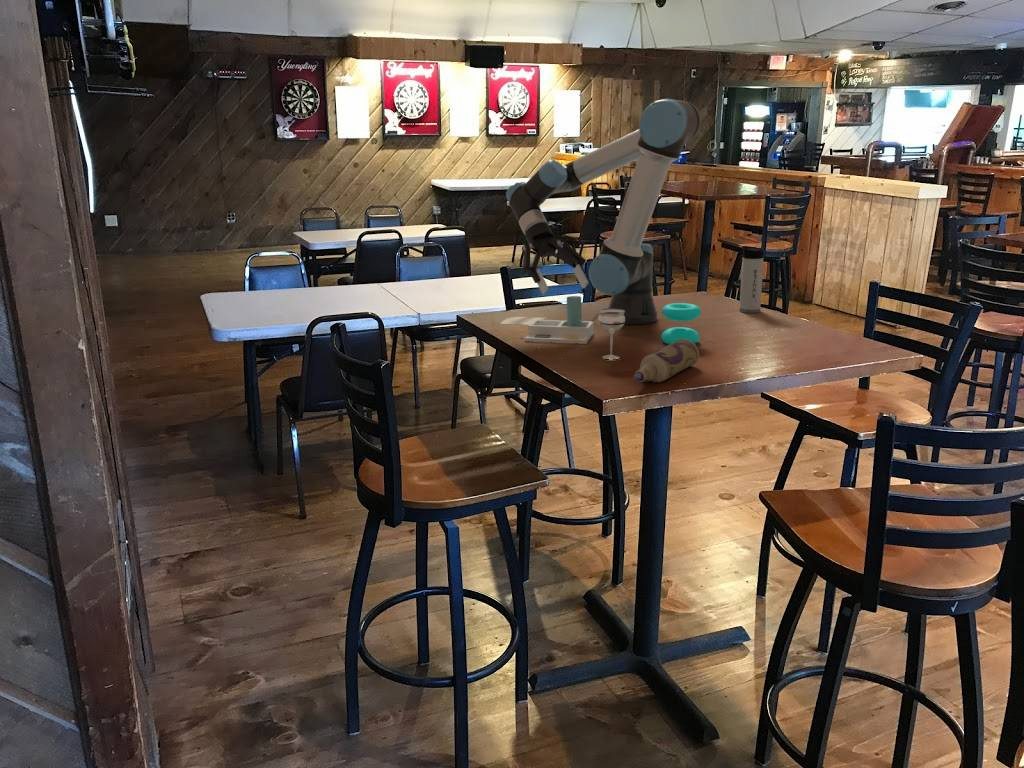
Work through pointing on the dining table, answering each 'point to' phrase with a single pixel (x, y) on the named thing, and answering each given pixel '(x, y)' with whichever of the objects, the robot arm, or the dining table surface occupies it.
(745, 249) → the travel mug
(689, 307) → the donuts
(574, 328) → the divided storage tray
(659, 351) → the decorative bottle
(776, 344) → the dining table surface
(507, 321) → the deck
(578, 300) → the green rectangular block
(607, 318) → the wineglass
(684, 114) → the robot arm
